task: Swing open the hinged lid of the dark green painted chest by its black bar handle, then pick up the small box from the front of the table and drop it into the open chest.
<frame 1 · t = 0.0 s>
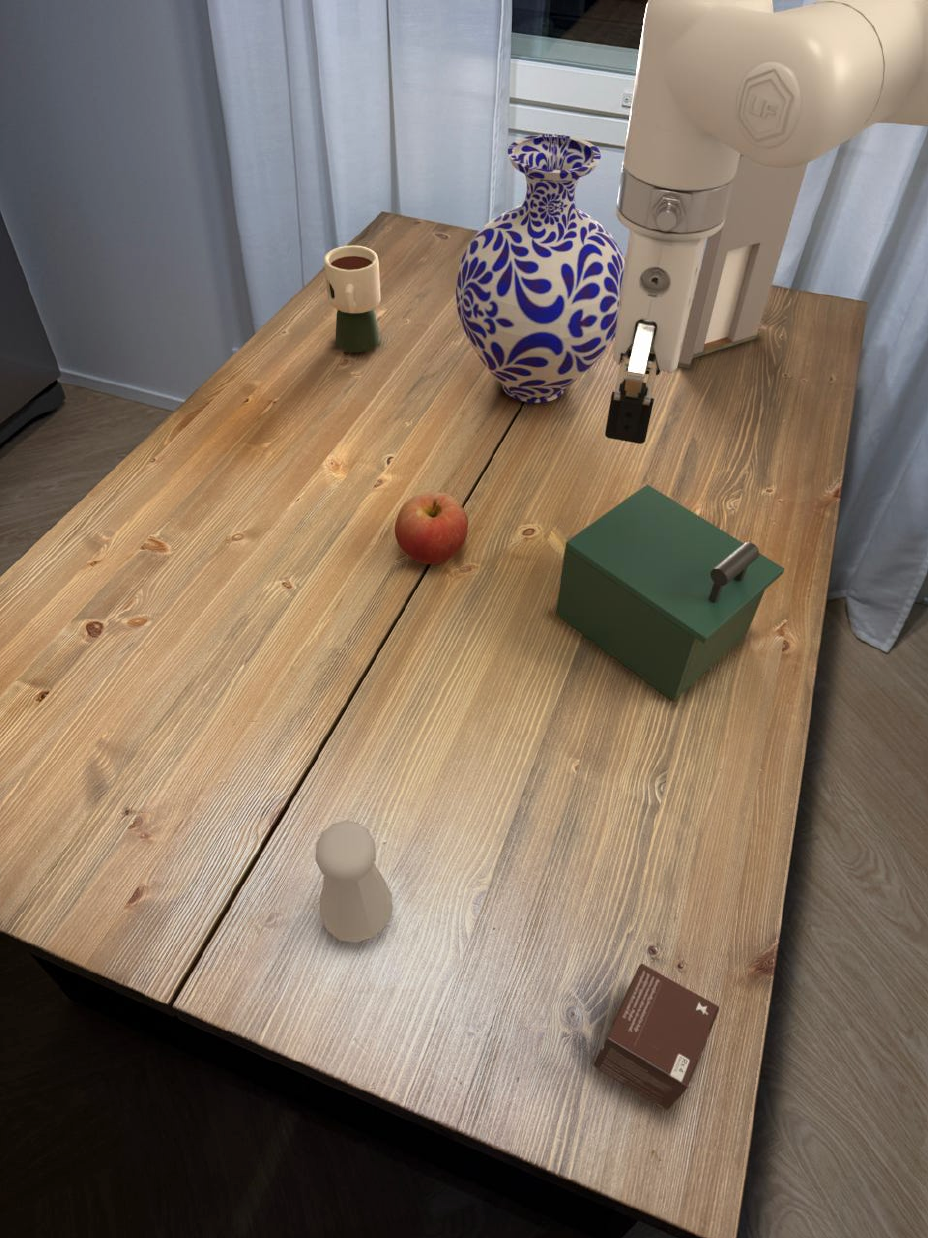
hand: (633, 403, 74), 27 cm above the table, tool pointing down, fingers open, 9 cm apart
box: (645, 1052, 66), on the table
character mug: (358, 346, 127), on the table
lid: (677, 542, 84), point 12 cm above the table, hinge at 0.0°
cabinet: (721, 335, 131), on the table
chest: (650, 624, 94), on the table
salt shaker: (358, 918, 73), on the table
apple: (433, 553, 100), on the table
vase: (533, 384, 122), on the table
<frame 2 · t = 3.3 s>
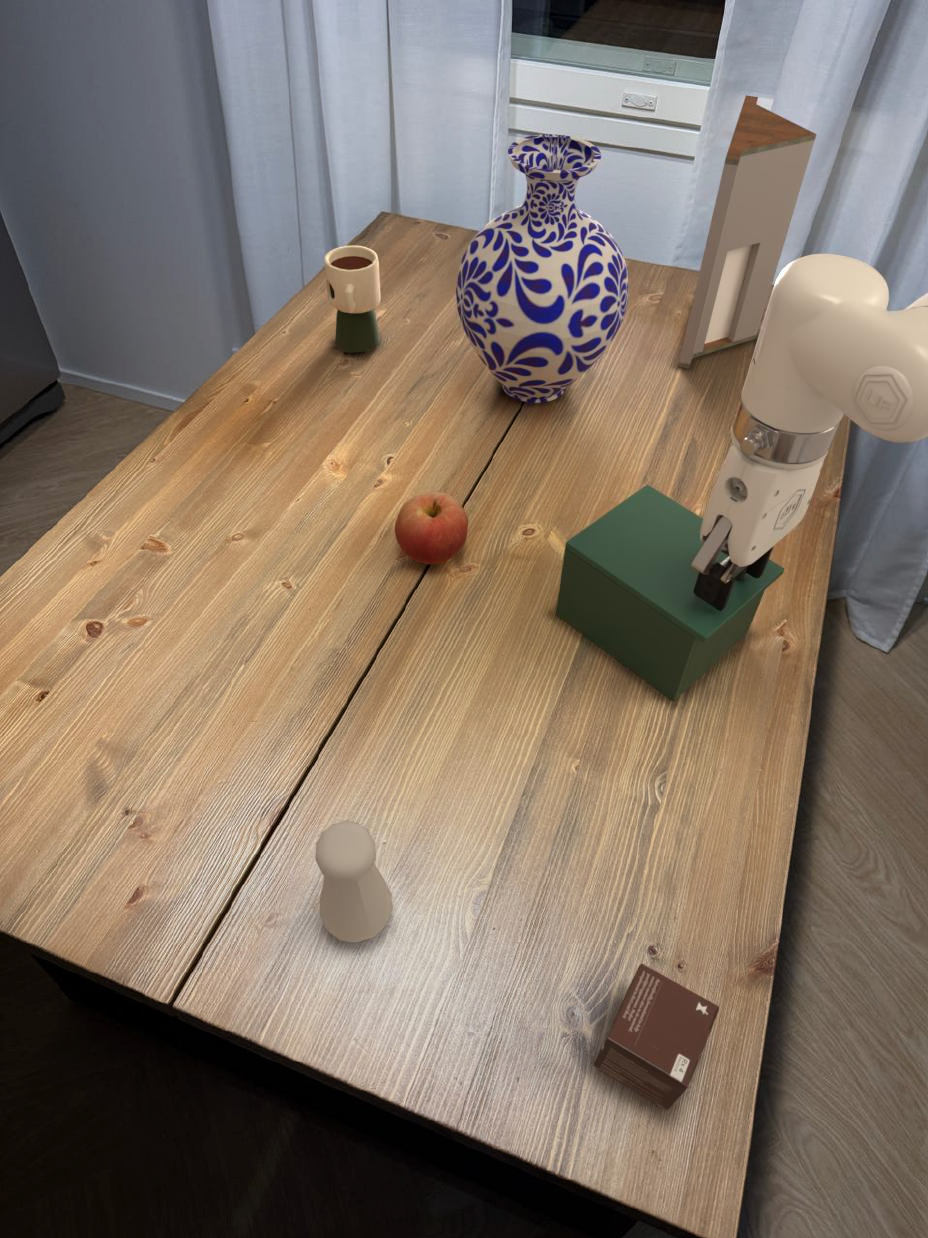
hand: (727, 583, 82), 11 cm above the table, tool pointing down, fingers closed on lid, 5 cm apart
lid: (677, 542, 84), point 12 cm above the table, hinge at 0.0°, touching gripper
everything else where it was.
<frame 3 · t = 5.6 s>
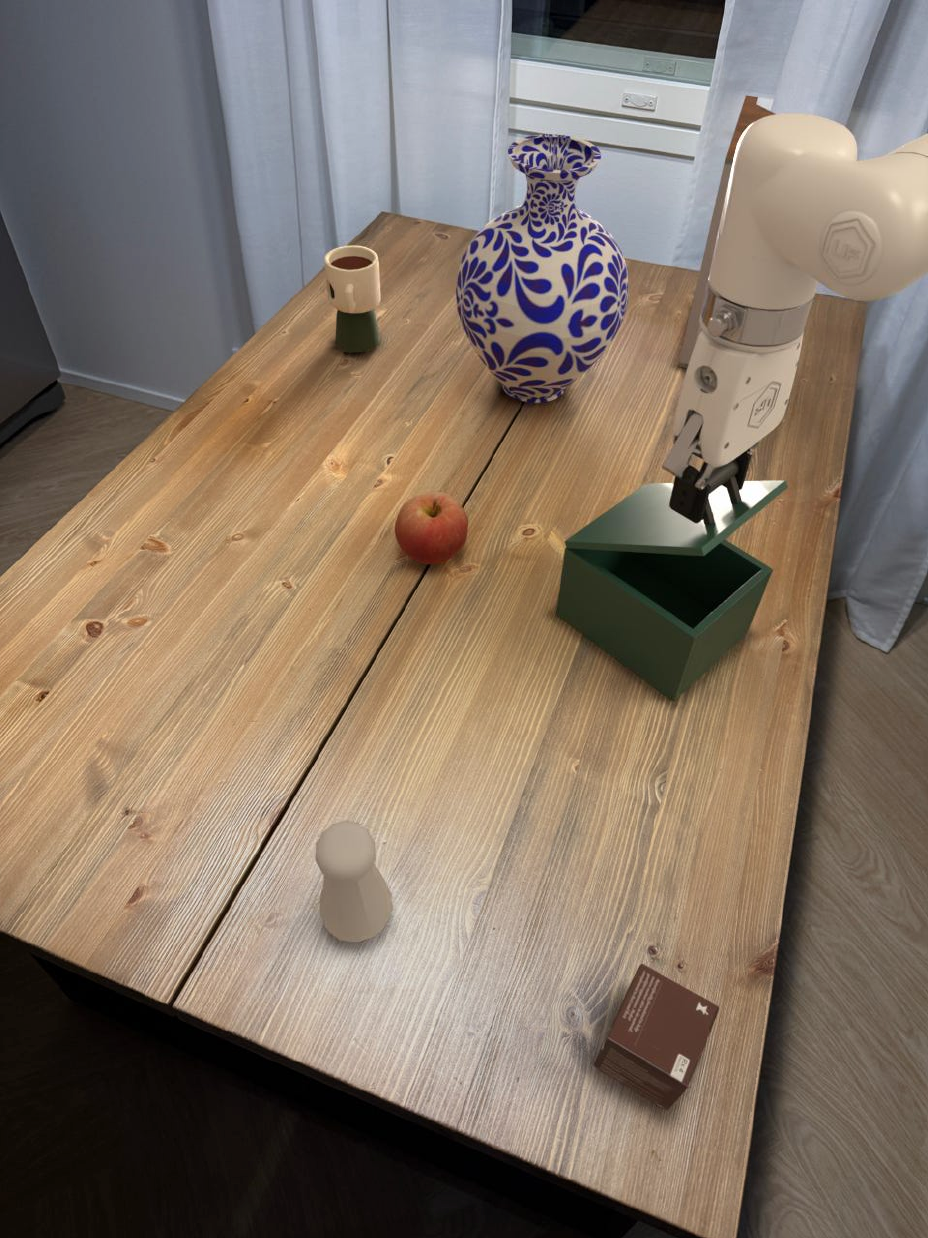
hand: (705, 497, 78), 19 cm above the table, tool pointing down, fingers closed on lid, 5 cm apart
lid: (664, 495, 82), point 17 cm above the table, hinge at 33.3°, touching gripper
everything else where it was.
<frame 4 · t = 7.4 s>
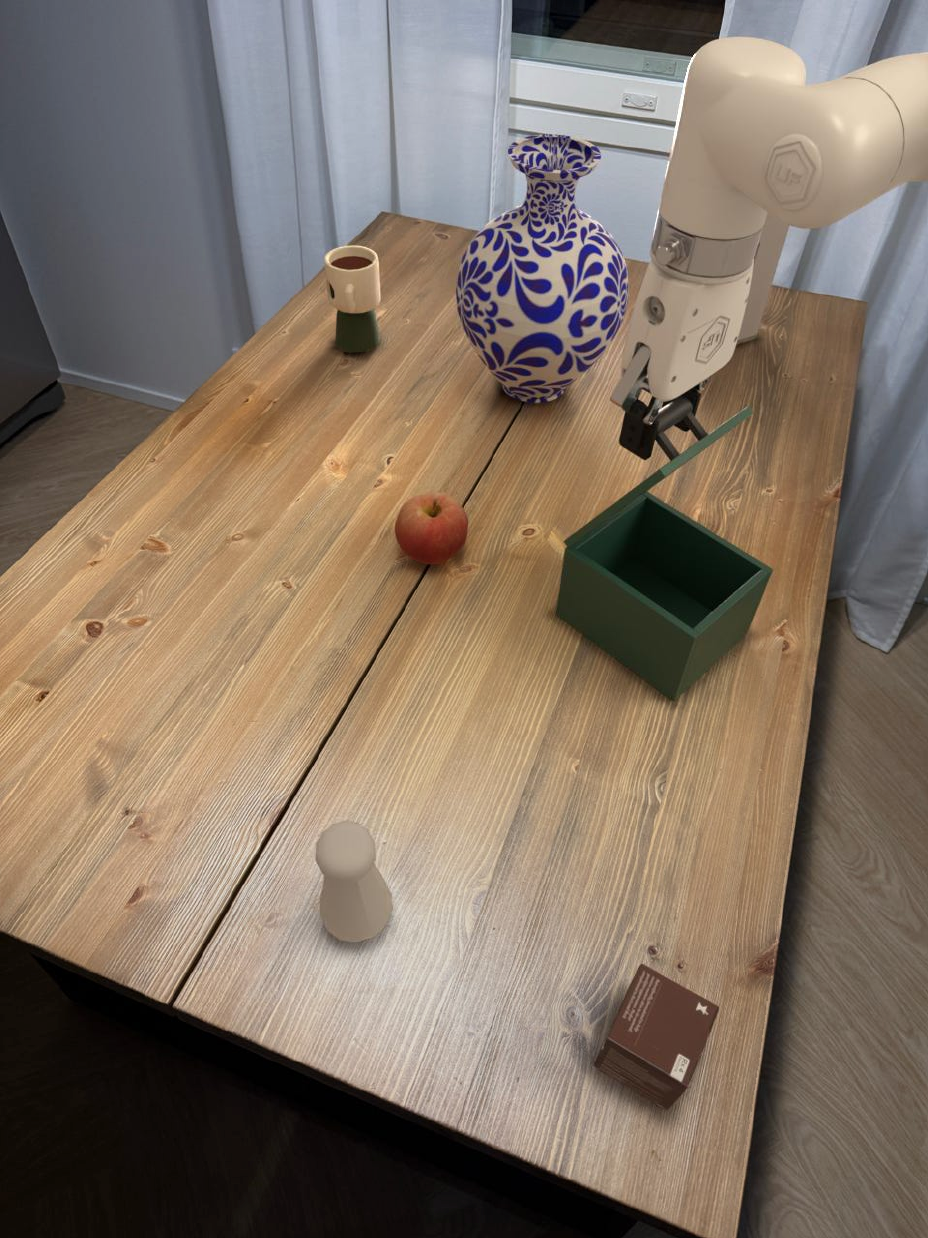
hand: (655, 435, 79), 22 cm above the table, tool pointing down, fingers closed on lid, 5 cm apart
lid: (640, 462, 82), point 18 cm above the table, hinge at 59.1°, touching gripper
everything else where it was.
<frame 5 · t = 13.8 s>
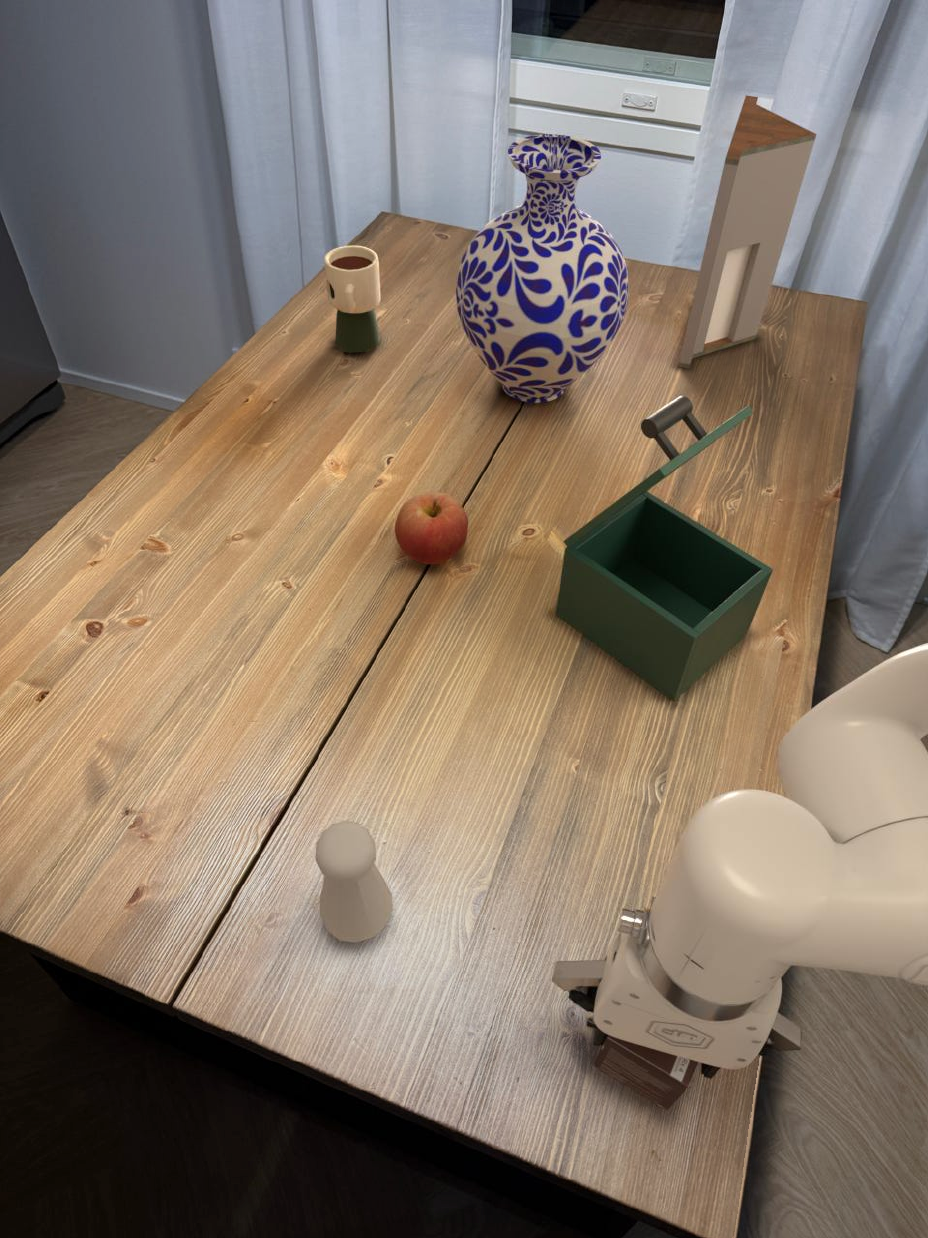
hand: (653, 1039, 64), 3 cm above the table, tool pointing down, fingers closed on box, 7 cm apart
box: (645, 1052, 66), on the table, touching gripper
lid: (639, 462, 82), point 18 cm above the table, hinge at 59.2°
everything else where it was.
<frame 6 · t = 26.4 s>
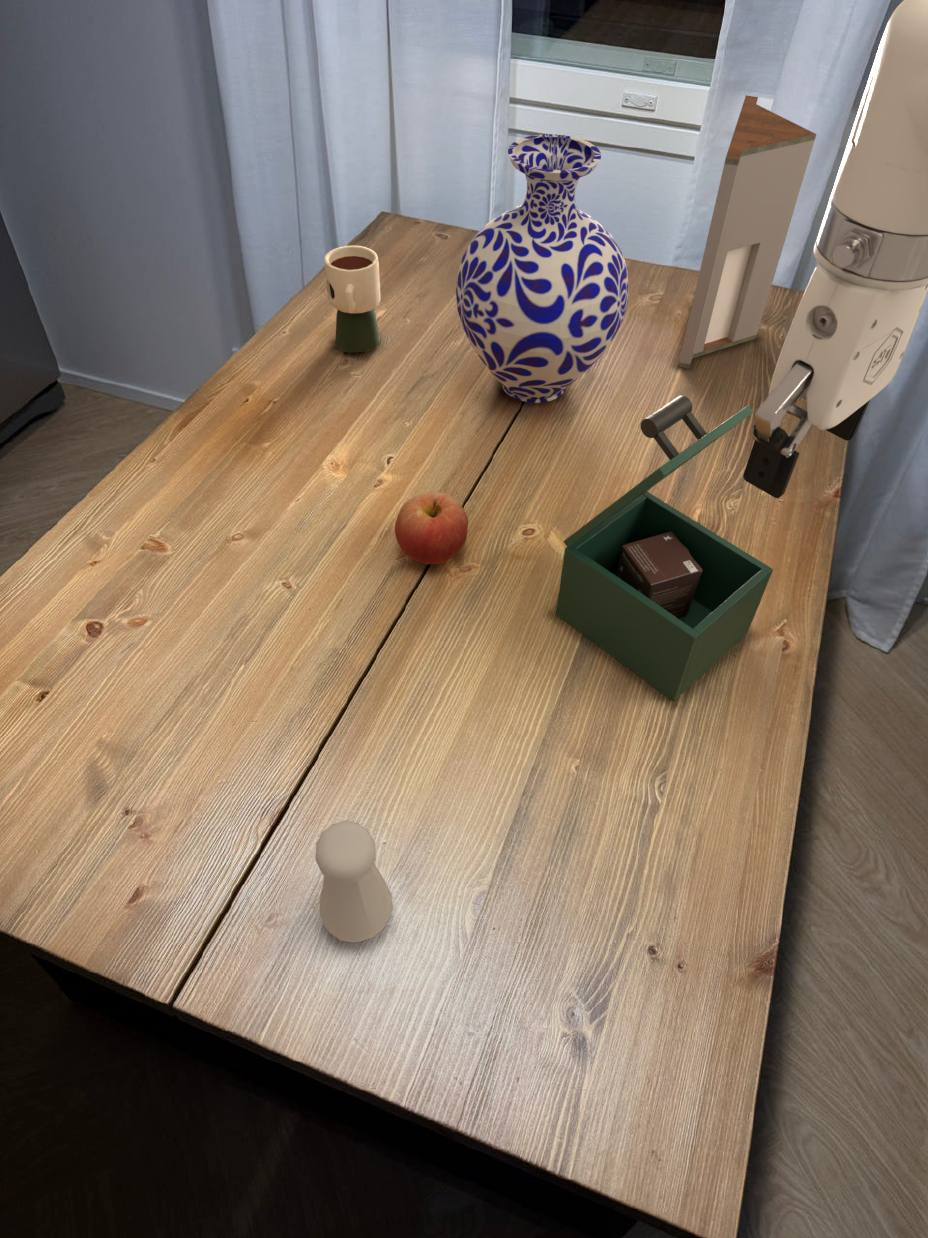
hand: (798, 458, 67), 28 cm above the table, tool pointing down, fingers open, 9 cm apart
box: (648, 606, 94), point 1 cm above the table, touching chest
everything else where it was.
at the end: lid at +59° (first picture: +0°); box inside the target area in the chest (1.9 cm from its centre), point 0.6 cm above the chest's base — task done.
